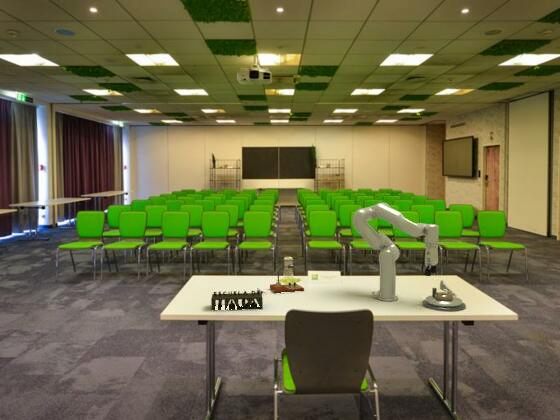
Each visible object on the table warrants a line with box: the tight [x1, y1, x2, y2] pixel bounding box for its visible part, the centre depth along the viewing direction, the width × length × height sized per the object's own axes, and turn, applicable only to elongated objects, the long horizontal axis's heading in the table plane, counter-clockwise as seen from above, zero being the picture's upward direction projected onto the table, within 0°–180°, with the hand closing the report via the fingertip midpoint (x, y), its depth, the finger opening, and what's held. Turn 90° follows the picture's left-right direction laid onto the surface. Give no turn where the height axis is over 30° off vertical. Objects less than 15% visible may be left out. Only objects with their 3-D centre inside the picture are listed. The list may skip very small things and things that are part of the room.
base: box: [421, 291, 466, 312], centre depth 281 cm, size 24×24×6 cm
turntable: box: [425, 287, 463, 308], centre depth 281 cm, size 20×20×7 cm
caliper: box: [439, 279, 457, 297], centre depth 312 cm, size 20×1×6 cm, turn 8°
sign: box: [210, 290, 264, 311], centre depth 280 cm, size 29×11×10 cm, turn 95°
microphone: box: [256, 263, 305, 294], centre depth 319 cm, size 14×30×18 cm, turn 109°
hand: (430, 274), depth 284 cm, fingers open, 9 cm apart
